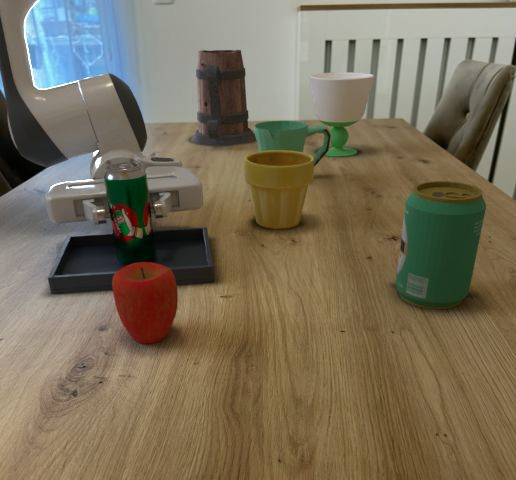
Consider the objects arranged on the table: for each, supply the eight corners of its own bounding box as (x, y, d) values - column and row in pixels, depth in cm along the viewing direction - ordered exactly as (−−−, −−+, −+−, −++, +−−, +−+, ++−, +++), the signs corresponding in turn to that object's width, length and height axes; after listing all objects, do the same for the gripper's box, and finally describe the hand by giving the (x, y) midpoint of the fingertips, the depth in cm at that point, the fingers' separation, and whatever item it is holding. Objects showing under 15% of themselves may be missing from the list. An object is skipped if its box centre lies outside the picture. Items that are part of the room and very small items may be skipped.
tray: (51, 294, 65) (47, 277, 64) (70, 249, 77) (67, 235, 76) (214, 282, 67) (213, 266, 66) (207, 241, 79) (206, 226, 78)
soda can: (144, 250, 75) (132, 158, 68) (164, 260, 71) (153, 166, 65) (110, 259, 72) (94, 165, 66) (129, 271, 68) (114, 173, 62)
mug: (262, 189, 101) (261, 131, 96) (249, 176, 109) (248, 122, 104) (337, 182, 104) (340, 126, 99) (319, 170, 112) (321, 117, 107)
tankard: (198, 132, 149) (192, 48, 138) (260, 132, 147) (258, 47, 137) (178, 151, 129) (169, 55, 118) (249, 152, 127) (246, 54, 117)
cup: (368, 160, 119) (374, 78, 110) (304, 158, 120) (306, 79, 112) (367, 146, 130) (373, 72, 122) (309, 145, 132) (311, 72, 124)
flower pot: (324, 218, 86) (327, 154, 81) (289, 238, 79) (290, 169, 74) (269, 207, 91) (268, 146, 86) (232, 225, 84) (229, 160, 79)
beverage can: (400, 276, 67) (413, 177, 61) (469, 285, 65) (490, 183, 58) (389, 304, 61) (401, 197, 55) (464, 316, 58) (487, 204, 52)
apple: (194, 334, 56) (188, 266, 52) (147, 359, 52) (136, 287, 48) (155, 315, 60) (147, 250, 56) (108, 337, 56) (95, 269, 52)
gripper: (42, 169, 75) (35, 197, 63) (190, 157, 79) (209, 181, 68) (52, 214, 78) (47, 248, 67) (194, 200, 83) (212, 230, 71)
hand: (130, 214), depth 67 cm, fingers open, 6 cm apart
